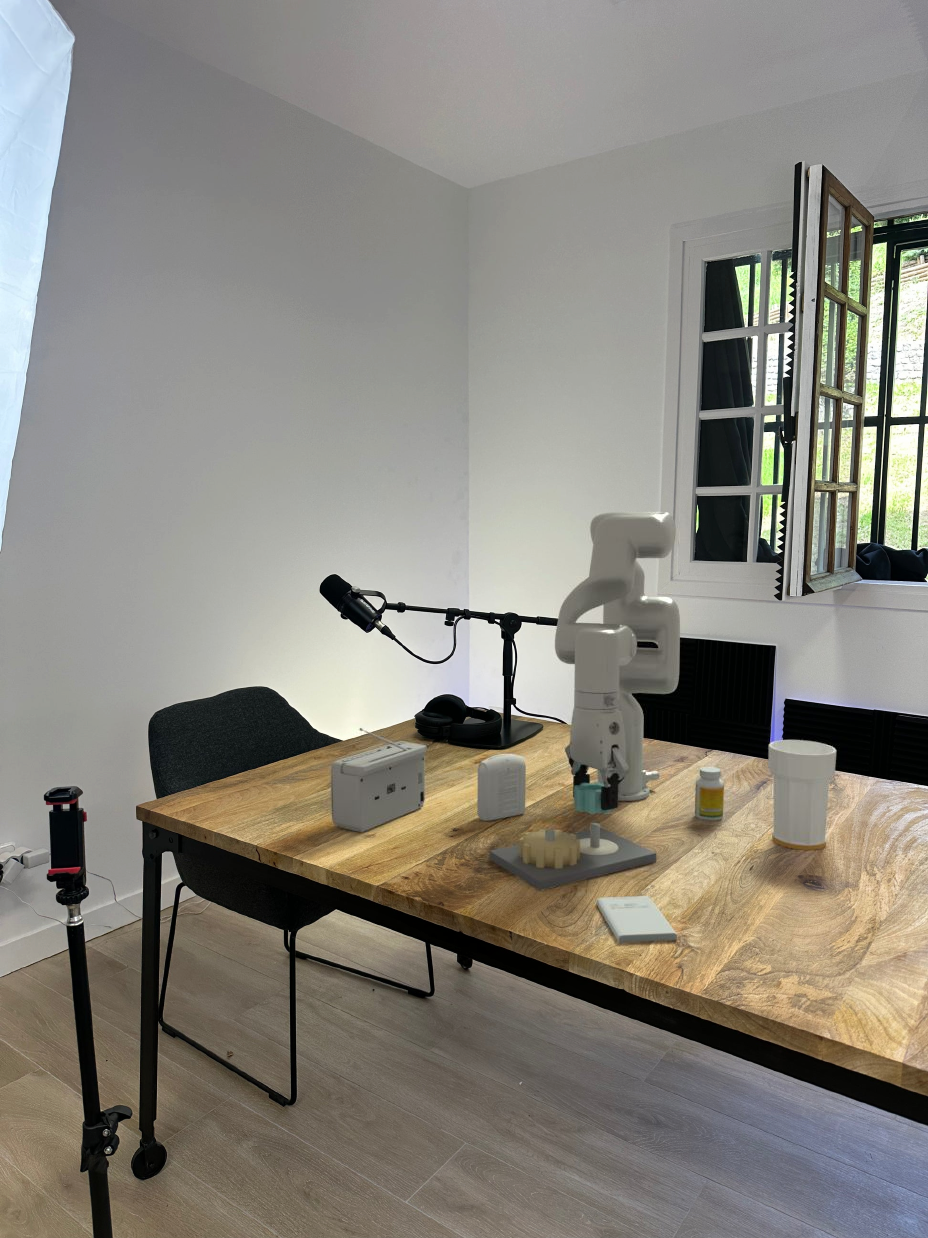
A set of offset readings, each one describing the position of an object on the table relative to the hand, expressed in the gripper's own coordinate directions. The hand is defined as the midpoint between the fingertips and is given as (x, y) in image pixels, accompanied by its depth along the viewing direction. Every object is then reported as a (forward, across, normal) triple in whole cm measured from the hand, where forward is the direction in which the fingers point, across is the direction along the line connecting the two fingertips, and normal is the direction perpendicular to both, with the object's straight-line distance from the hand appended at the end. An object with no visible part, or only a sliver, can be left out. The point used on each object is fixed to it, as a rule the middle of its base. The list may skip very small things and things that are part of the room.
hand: (595, 802), depth 146 cm
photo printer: (+10, +26, +2) cm, 28 cm away
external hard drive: (+11, -23, +10) cm, 27 cm away
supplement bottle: (+9, +5, -33) cm, 34 cm away
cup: (+9, -13, -37) cm, 40 cm away
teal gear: (+1, 0, 0) cm, 1 cm away
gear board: (+10, 0, +4) cm, 10 cm away
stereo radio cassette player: (+10, +37, +23) cm, 45 cm away
